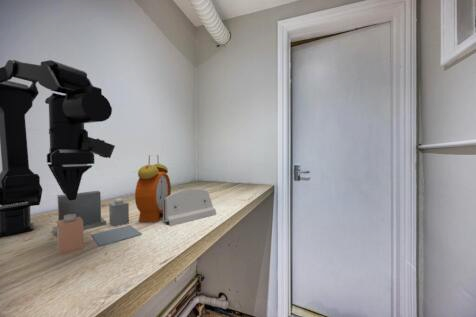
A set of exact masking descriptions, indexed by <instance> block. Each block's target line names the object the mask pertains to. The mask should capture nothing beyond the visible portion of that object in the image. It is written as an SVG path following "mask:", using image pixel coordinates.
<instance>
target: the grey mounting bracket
mask: <svg viewBox="0 0 476 317" xmlns="http://www.w3.org/2000/svg"><path fill="white" fill-rule="evenodd" d="M216 215H217V212H216V208H215V207H214V206H213V202H212V199H211V196H210V194H209V191H208V190H205V189H198V188H191V189H183V190H180V191H176V192H173V193H171V195H169V196H167V197H166V198H164V200H163V214H162V222H163V223H167V222H168V226H169V227H173V226H177V225H181V224H185V223H189V222H193V221H196V220H197V221H198V220H200V219H204V218H207V217H208V218H209V217H211V216H216Z"/></svg>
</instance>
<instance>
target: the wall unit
mask: <svg viewBox="0 0 476 317" xmlns="http://www.w3.org/2000/svg"><path fill="white" fill-rule="evenodd" d="M56 197H57V221H58V220H64V216H65V215H68V214H76V217H81V218H82V220H83V231H84V230H88V229H92V228H96V227H101V225H102V226H105V225H106V226H107V220H105V218H103V217H102V205H101V204H102V203H101V199H102V198H101V191H99V190H93V191H92V190H91V191H85V192H78V193H77V197H76V199H75V200H68V198H67V196H66V194H58V195H57V196H56ZM52 231H53V232H52V233H53V235H54V237H57V225H56V226H53V227H52Z"/></svg>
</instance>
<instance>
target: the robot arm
mask: <svg viewBox="0 0 476 317" xmlns="http://www.w3.org/2000/svg"><path fill="white" fill-rule="evenodd" d="M13 78H16V79H19V80H24V81H28V82H31V84H30V86H29V85H28V84H24V83H19V82H15V81H11V80H12V79H13ZM37 83H38V85H40V86H41V87H44V89H45V88H46V89H47V90H49V91H51V92H52V94H51V95H50V96H48V97H46V99H45V101H44V103H45V104H46V105H47V104H48V122H49V124H48V125H49V126H48V127H49V128H48V134H49V150H48V153H47V154H46V164H47V166H48V168H49V170H50V171H51V173H52V175H53V177H54V179H55V181H56V183H57V185H58V186H59V188H60V190H61V192H62V193H63V195H65V194H66V196H67V198H68V200H75V199H76V197H77V193H79V190H80V189H79V188H80V185H81V181H82V178H83V174H85V173H86V172H87V171H88V170H90V169H92V167H93V165H95V155H98V156H99V157H101V158H104V159H105V158H106V159H111V157H112V154H113V152H114V150H115V147H116V146H115V145H114V144H111V143H109V142H106V141H105V140H104V139H103V140H102V139H100V138H93V137H89V132H88V130H87V129H85V124H90V123H99V122H105V121H107V120H109V119H110V118H111V116H112V112H113V108H112V106H111V104H110V102H109V99H108V98H107V97H105V95H103V94H102V93H103V92H102V88H100V87H97V86H94V85H93V84H92V82H91V80H90V79H89V77H88V74H87V73H86V71H84V70H82V69H78V68H75V67H73V66H69V65H66V64H63V63H61V62H58V61H56V60H51V59H50V60H44V61H40V64H34V63H28V62H22V61H18V60H15V59H13V60H11V59H8V60H7V62H6V63H5V65H4V66H2V67H0V156H1V168H2V170H1V172H0V237H5V236H9V235H10V236H11V235H15V234H20V233H26V232H31V231H34V223H33V222H32V220H31V219H32V217H31V207H33V206H40V204H41V200H42V195H43V187H42V185H41V183H40V182H41V181H40V179H41V178H40V177H41V176H40V175H39V174H38V173H35V172H33V171H32V170H31V169H30V165H29V152H28V151H29V149H28V140H27V138H28V137H27V126H26V115H27V113H28V112H29V111H30V109H31V108H32V107H33V102H34V100H35V99H36V98H37V96H38V95H39V90H38V87H37ZM55 92H56V93H55Z"/></svg>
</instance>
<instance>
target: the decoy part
mask: <svg viewBox="0 0 476 317" xmlns="http://www.w3.org/2000/svg"><path fill="white" fill-rule="evenodd" d="M129 204H130V203H129V202H127V201H125V200H124V199H123V198H120V197H119V198H115V199H114V202H110V203H109V204H108V205H109V207H108V208H109V212H108V213H109V214H108V215H109V225H111V226H112V228H115V227H118V225H120V226H123V224H124V225H127V223H128V224H129V222H130V220H129V219H130V213H129V210H130V209H129ZM114 226H115V227H114Z"/></svg>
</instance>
